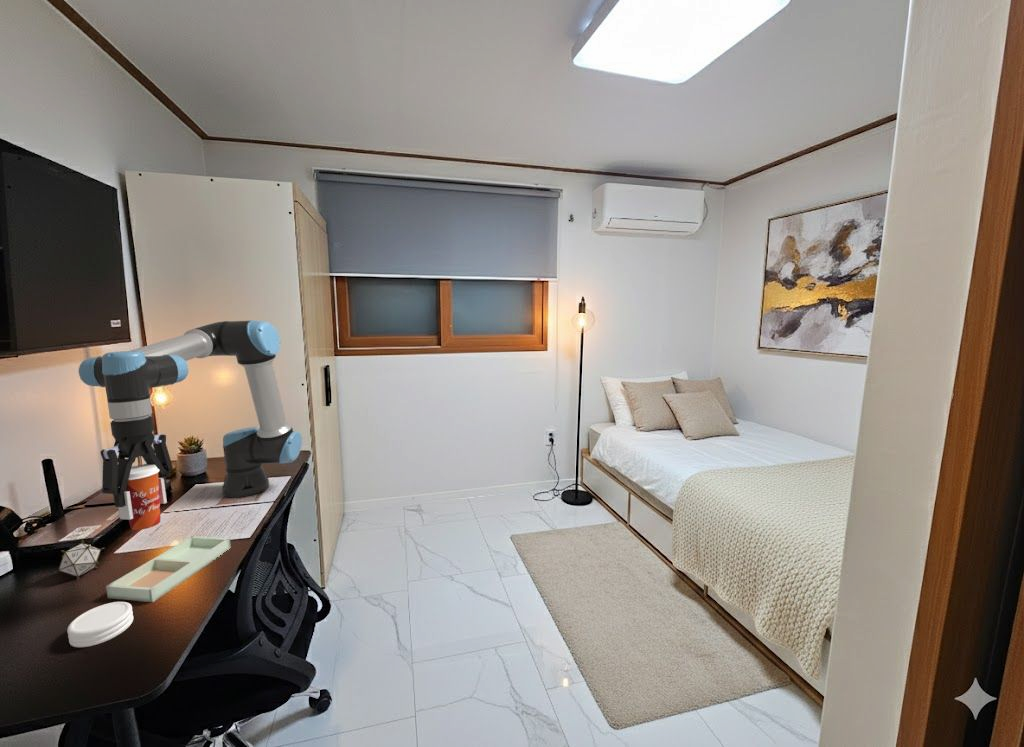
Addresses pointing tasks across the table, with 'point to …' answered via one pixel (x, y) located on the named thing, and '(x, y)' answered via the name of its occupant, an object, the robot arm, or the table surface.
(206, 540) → the mint green tray
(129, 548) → the table surface
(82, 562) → the game die
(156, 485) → the paper cup
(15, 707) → the table surface
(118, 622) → the coaster
